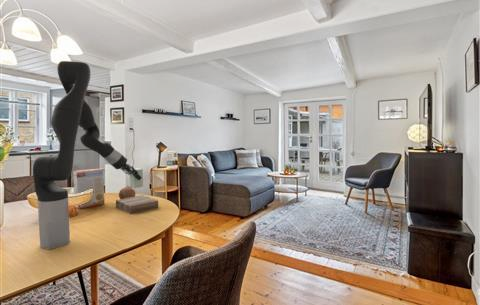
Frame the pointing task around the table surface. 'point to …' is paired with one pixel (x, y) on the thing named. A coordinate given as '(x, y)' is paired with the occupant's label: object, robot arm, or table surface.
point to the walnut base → (136, 204)
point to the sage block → (135, 182)
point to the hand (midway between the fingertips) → (137, 178)
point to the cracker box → (90, 185)
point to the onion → (126, 193)
